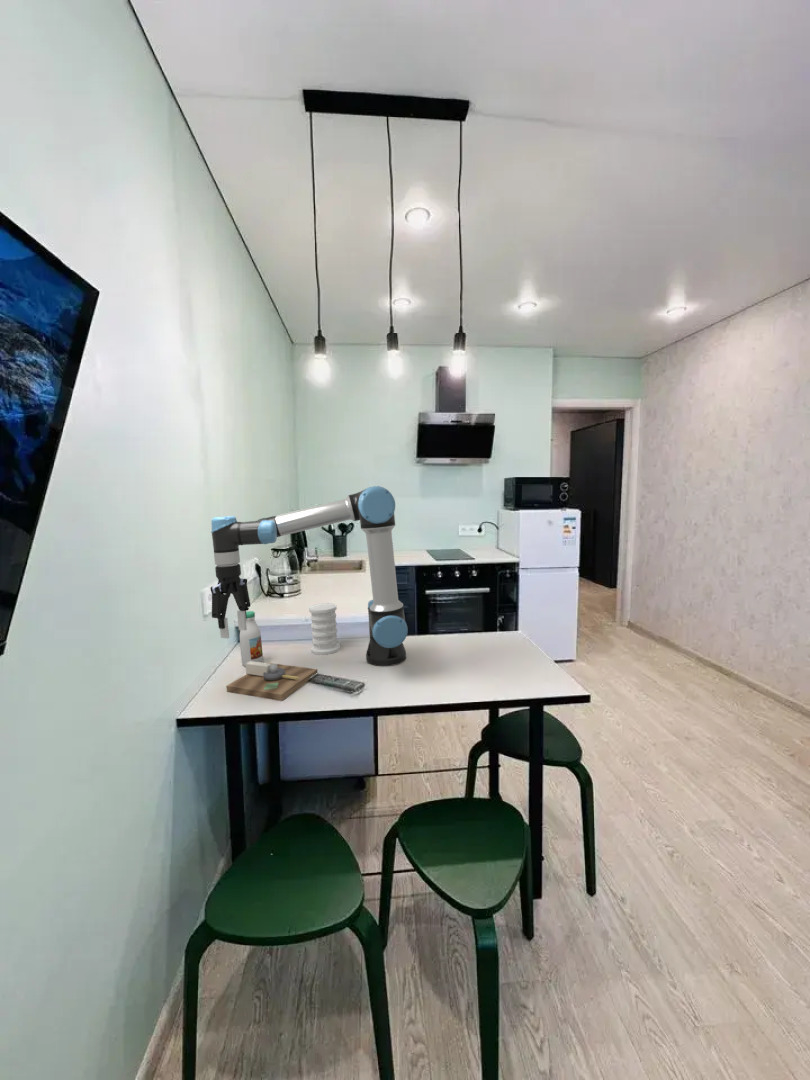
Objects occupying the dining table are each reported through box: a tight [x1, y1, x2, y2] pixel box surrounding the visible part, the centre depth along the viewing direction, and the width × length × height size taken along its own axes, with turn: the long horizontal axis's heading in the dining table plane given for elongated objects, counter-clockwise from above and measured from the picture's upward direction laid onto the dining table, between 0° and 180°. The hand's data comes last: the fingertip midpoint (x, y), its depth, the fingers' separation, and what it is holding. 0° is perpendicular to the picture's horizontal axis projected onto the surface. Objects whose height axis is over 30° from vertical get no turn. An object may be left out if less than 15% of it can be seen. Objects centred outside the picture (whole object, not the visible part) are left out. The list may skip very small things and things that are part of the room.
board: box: [226, 662, 319, 701], centre depth 148 cm, size 22×20×2 cm
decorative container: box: [308, 602, 341, 656], centre depth 177 cm, size 12×12×18 cm
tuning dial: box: [245, 661, 299, 680], centre depth 148 cm, size 20×7×4 cm, turn 68°
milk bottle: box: [239, 610, 264, 668], centre depth 165 cm, size 8×8×20 cm
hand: (234, 633), depth 142 cm, fingers open, 7 cm apart
